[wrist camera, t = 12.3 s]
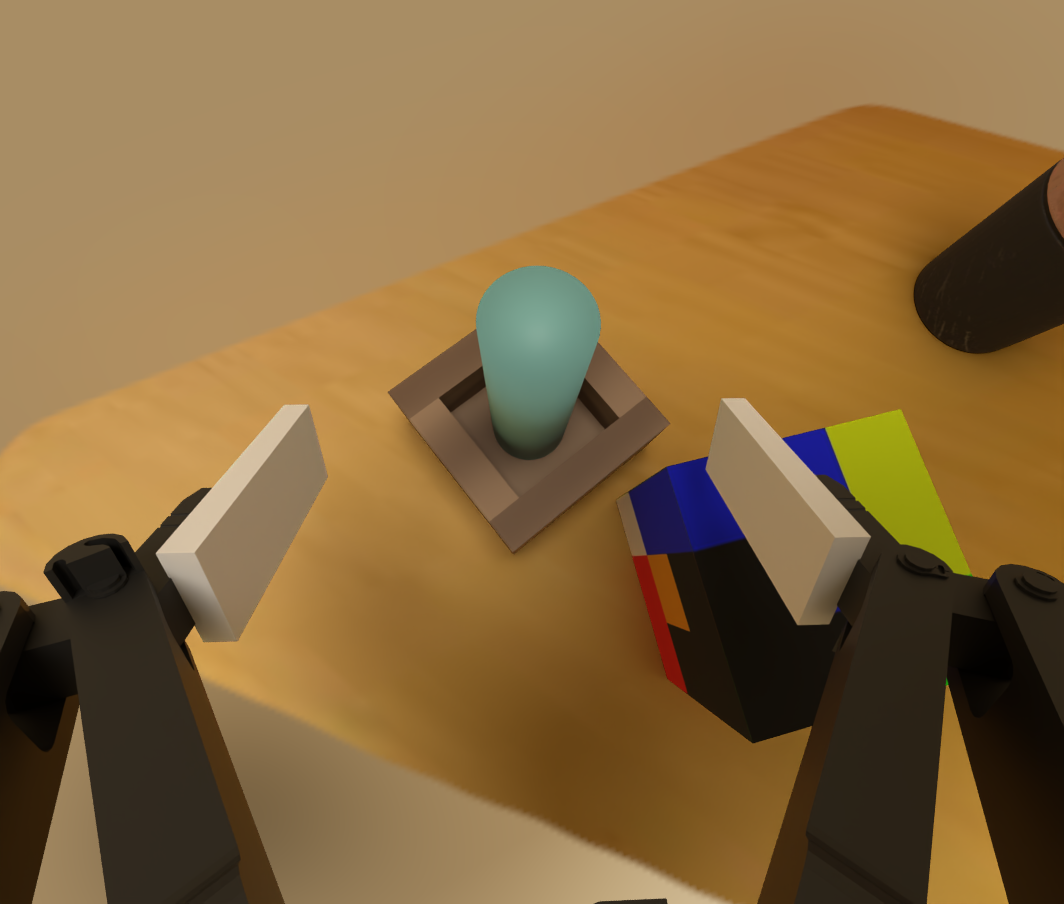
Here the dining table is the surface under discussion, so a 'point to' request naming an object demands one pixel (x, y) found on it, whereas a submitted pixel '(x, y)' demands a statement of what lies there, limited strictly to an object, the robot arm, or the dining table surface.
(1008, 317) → the travel mug
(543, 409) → the teal dowel
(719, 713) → the puzzle toy
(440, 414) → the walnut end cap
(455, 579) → the dining table surface
